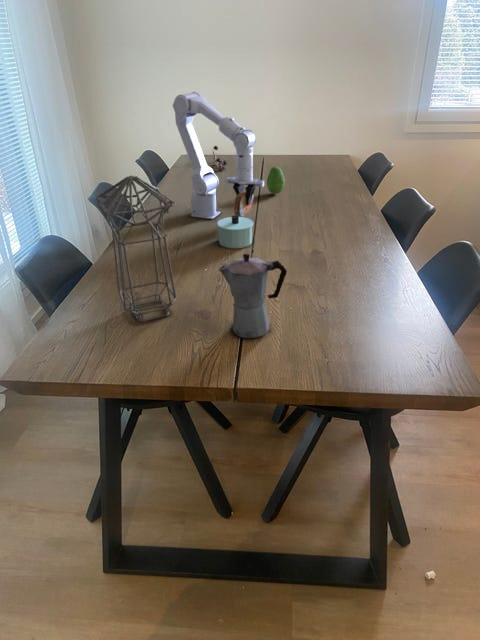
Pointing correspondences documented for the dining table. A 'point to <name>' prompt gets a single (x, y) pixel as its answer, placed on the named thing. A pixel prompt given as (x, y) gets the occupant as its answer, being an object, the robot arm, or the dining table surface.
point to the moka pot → (250, 293)
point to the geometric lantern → (167, 204)
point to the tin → (242, 204)
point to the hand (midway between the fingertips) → (244, 204)
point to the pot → (235, 238)
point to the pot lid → (235, 223)
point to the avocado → (275, 180)
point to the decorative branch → (218, 161)
